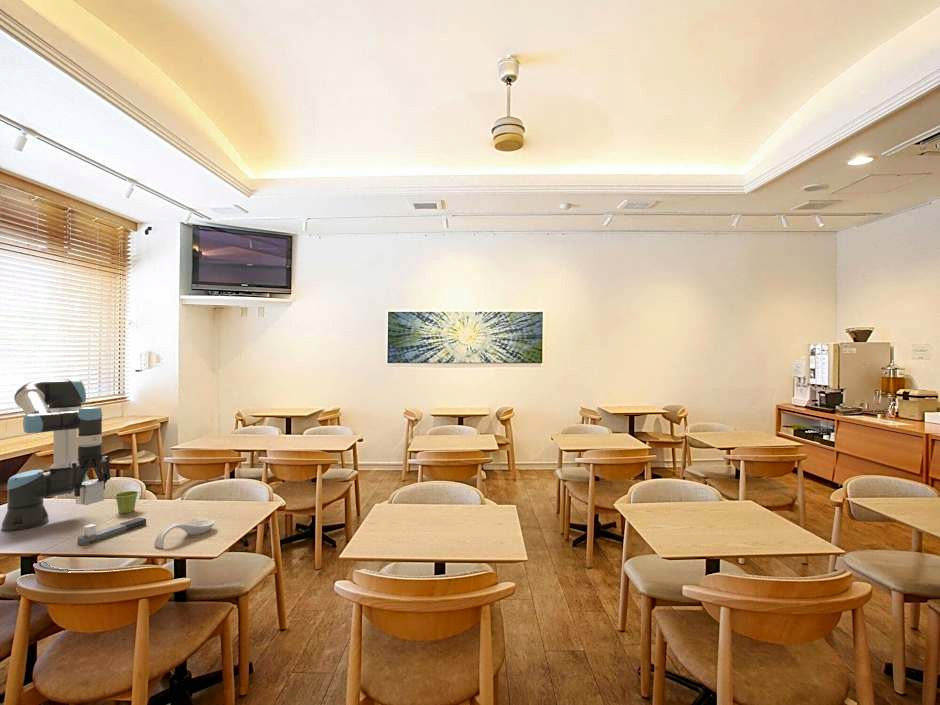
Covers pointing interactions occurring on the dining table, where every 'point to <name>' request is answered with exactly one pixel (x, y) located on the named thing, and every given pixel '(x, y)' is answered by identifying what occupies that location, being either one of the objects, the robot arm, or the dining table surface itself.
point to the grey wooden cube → (92, 491)
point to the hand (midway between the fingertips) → (90, 501)
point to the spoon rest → (188, 527)
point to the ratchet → (108, 531)
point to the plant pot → (126, 501)
